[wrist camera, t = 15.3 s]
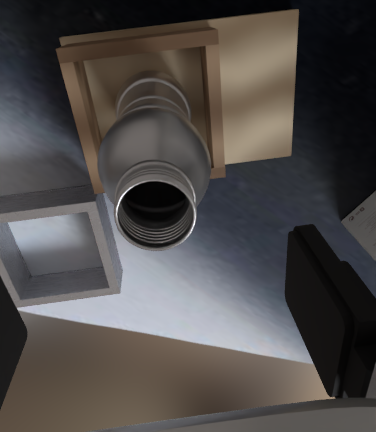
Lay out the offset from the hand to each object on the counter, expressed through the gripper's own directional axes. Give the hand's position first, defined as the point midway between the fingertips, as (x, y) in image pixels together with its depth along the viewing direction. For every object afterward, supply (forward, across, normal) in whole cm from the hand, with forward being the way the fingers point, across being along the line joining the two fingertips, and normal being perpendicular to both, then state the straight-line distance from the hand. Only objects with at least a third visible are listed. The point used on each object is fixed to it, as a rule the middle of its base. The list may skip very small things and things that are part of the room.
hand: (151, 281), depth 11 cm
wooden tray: (+26, -3, +1) cm, 26 cm away
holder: (+26, +13, +14) cm, 32 cm away
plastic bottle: (+24, 0, 0) cm, 24 cm away
